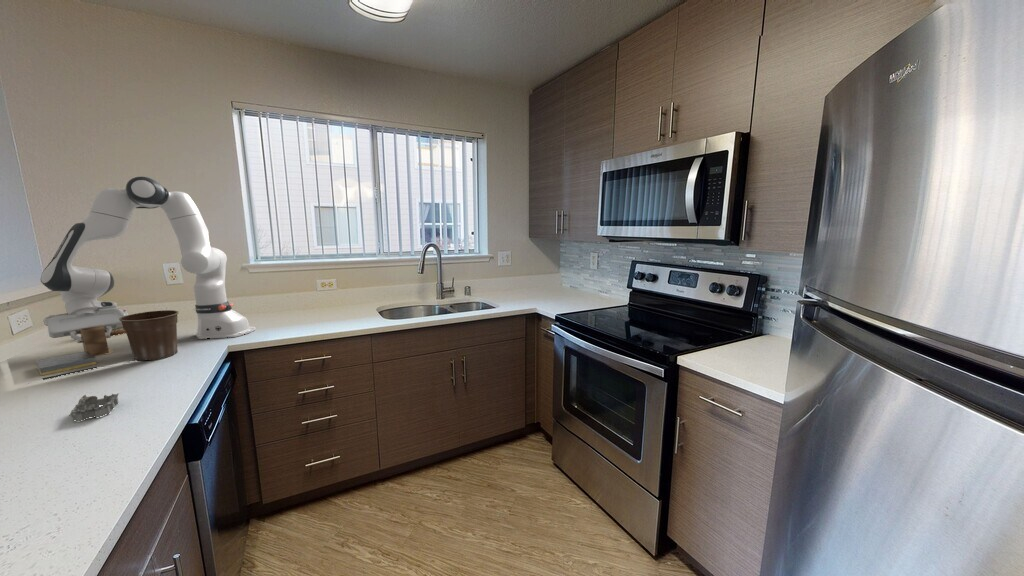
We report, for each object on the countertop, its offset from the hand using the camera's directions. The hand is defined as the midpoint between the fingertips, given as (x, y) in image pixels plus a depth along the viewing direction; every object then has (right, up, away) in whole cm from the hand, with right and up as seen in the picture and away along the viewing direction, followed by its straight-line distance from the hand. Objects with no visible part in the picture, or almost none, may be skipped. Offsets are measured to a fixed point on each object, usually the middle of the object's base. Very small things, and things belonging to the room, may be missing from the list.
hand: (94, 339), depth 142 cm
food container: (-25, -2, +33) cm, 41 cm away
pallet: (0, -7, +2) cm, 7 cm away
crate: (0, -5, +1) cm, 5 cm away
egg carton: (+46, -14, -41) cm, 63 cm away
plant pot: (+22, -7, +2) cm, 23 cm away
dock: (+3, -9, -11) cm, 15 cm away
